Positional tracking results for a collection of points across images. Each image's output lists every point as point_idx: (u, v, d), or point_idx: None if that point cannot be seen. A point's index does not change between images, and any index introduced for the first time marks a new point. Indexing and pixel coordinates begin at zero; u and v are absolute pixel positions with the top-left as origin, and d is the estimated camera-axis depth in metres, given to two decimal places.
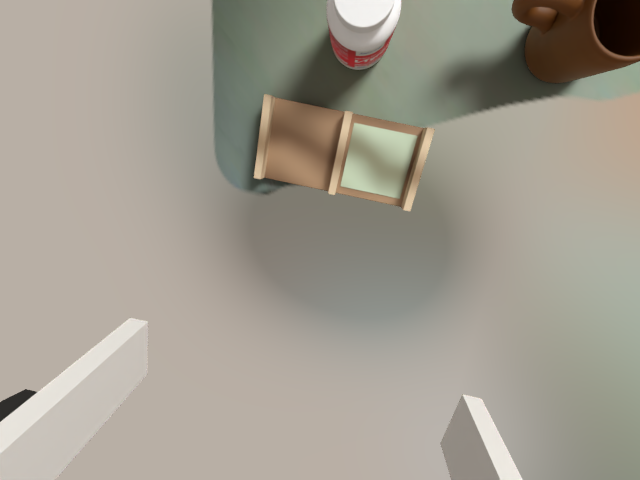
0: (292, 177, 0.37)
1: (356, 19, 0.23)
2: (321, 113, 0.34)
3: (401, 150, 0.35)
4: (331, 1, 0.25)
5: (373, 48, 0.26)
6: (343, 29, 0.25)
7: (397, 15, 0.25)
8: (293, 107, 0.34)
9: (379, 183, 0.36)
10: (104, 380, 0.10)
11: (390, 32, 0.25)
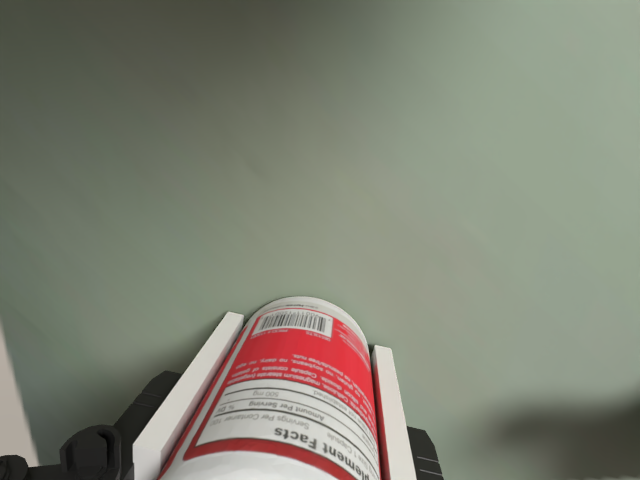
0: None
1: None
2: None
3: None
4: None
5: None
6: None
7: None
8: None
9: None
10: (222, 364, 0.12)
11: None
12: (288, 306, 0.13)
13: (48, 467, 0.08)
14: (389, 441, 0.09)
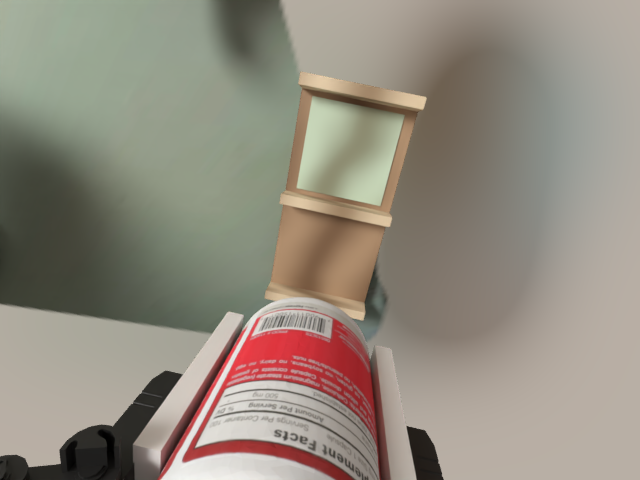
0: (365, 268, 0.27)
1: None
2: (286, 229, 0.27)
3: (333, 119, 0.24)
4: None
5: None
6: None
7: None
8: (280, 262, 0.28)
9: (379, 149, 0.24)
10: (222, 364, 0.12)
11: None
12: (288, 307, 0.13)
13: (48, 467, 0.08)
14: (389, 441, 0.09)
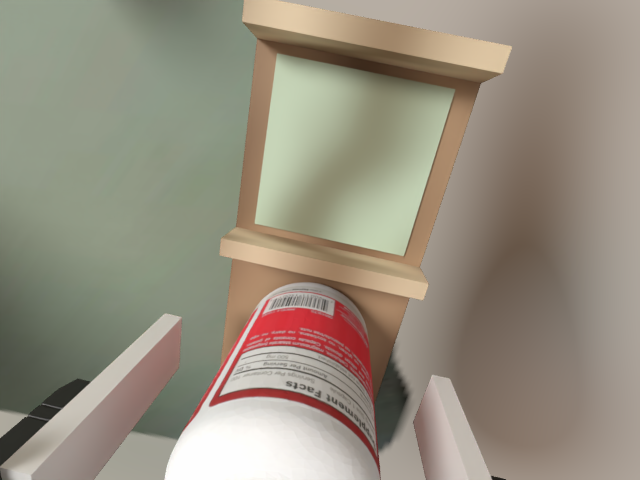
0: (376, 356, 0.16)
1: None
2: (241, 291, 0.16)
3: (317, 99, 0.13)
4: None
5: None
6: None
7: None
8: (234, 342, 0.17)
9: (404, 154, 0.13)
10: (147, 371, 0.11)
11: None
12: (294, 290, 0.14)
13: None
14: None
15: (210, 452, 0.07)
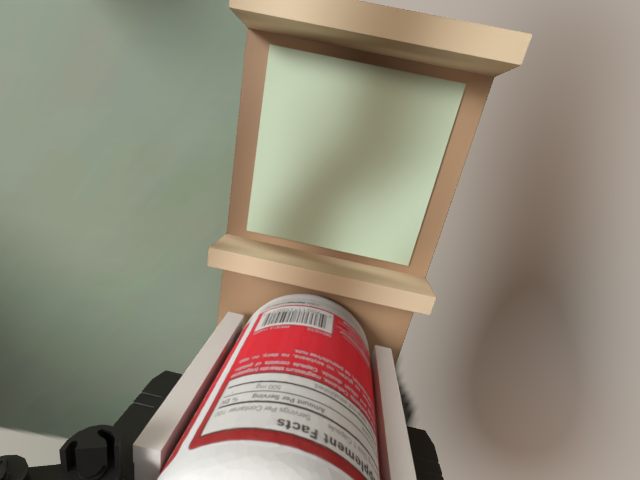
0: None
1: None
2: (232, 302, 0.15)
3: (313, 95, 0.12)
4: None
5: None
6: None
7: None
8: None
9: (409, 156, 0.12)
10: (222, 364, 0.12)
11: None
12: (290, 303, 0.13)
13: (48, 467, 0.08)
14: (389, 441, 0.09)
15: None
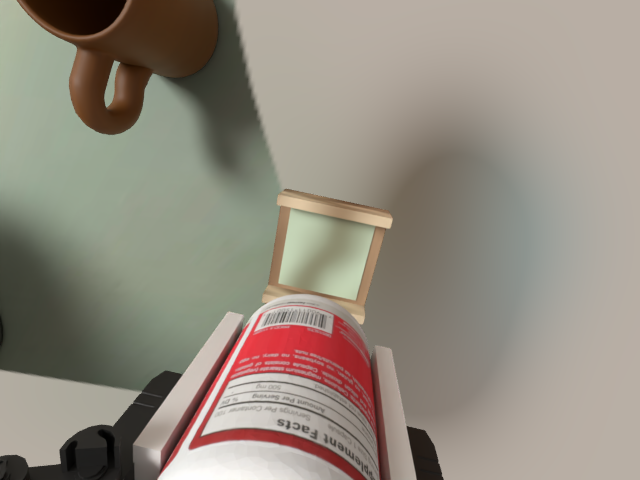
0: None
1: None
2: None
3: (310, 226, 0.26)
4: None
5: None
6: None
7: None
8: None
9: (353, 253, 0.26)
10: (222, 364, 0.12)
11: None
12: (290, 303, 0.13)
13: (48, 467, 0.08)
14: (389, 441, 0.09)
15: None
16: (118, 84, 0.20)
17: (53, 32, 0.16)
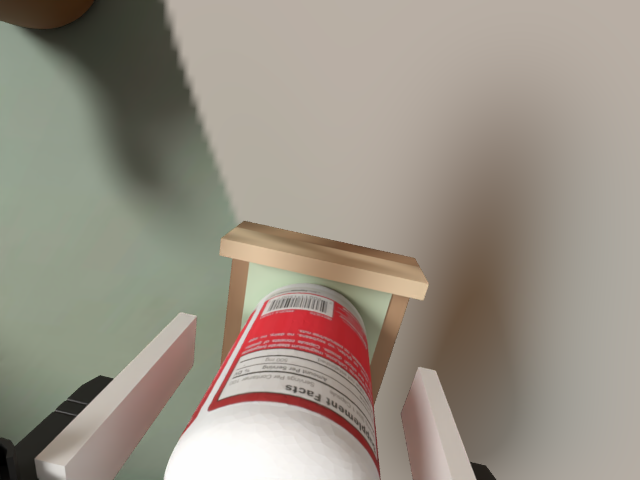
0: None
1: None
2: None
3: (284, 285, 0.15)
4: None
5: None
6: None
7: None
8: None
9: None
10: (165, 368, 0.11)
11: None
12: (293, 291, 0.14)
13: None
14: None
15: (209, 458, 0.07)
16: None
17: None
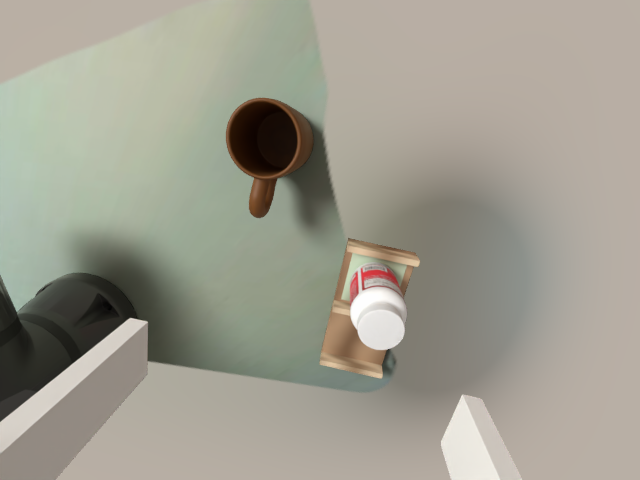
0: None
1: (374, 345, 0.31)
2: (333, 321, 0.43)
3: (364, 263, 0.40)
4: (354, 314, 0.33)
5: None
6: None
7: (404, 323, 0.33)
8: (328, 340, 0.44)
9: None
10: (104, 380, 0.10)
11: None
12: (371, 264, 0.39)
13: None
14: None
15: (368, 296, 0.32)
16: None
17: (249, 174, 0.30)
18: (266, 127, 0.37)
